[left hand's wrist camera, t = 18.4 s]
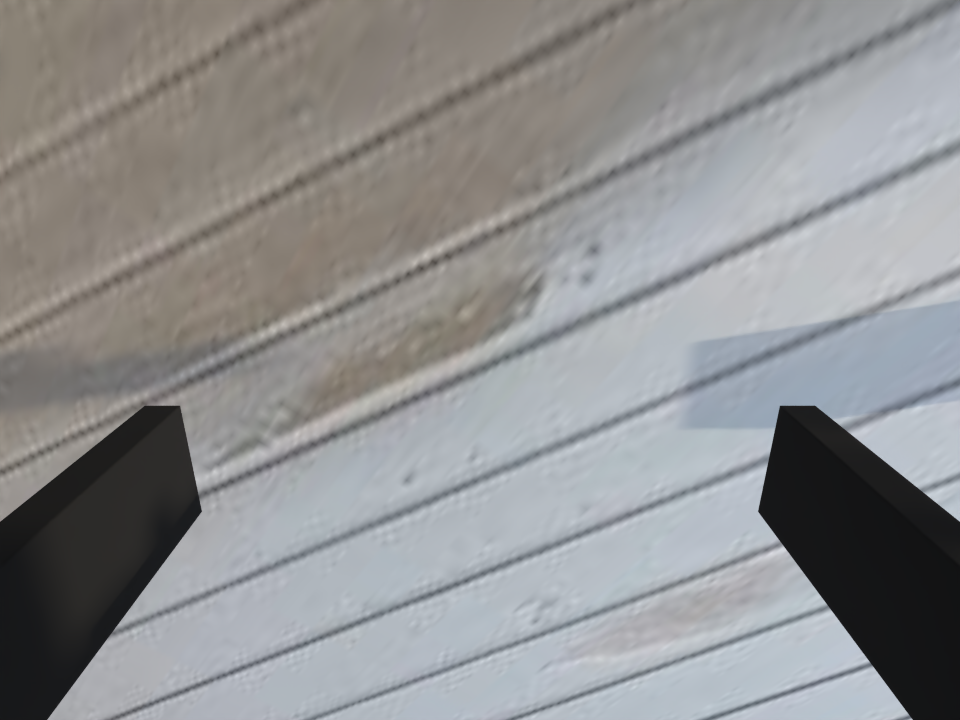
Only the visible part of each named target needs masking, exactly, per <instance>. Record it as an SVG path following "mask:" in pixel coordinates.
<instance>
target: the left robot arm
mask: <svg viewBox="0 0 960 720" xmlns="http://www.w3.org/2000/svg"><path fill="white" fill-rule="evenodd" d="M201 512H202V510H201V505H200V500H199V496H198V491H197V486H196V481H195V476H194V471H193V467H192V462H191V457H190V452H189V447H188V442H187V438H186V433H185V428H184V423H183V418H182V413H181V409H180V406H144V407H143V408H142V409H140V410H139V411H138V412H137V413H135V414H134V415H133V416H132V417H130V418H129V419H128V420H127V421H125V422H124V423H123V424H122V425H120V426H119V427H118V428H117V429H115V430H114V431H113V432H112V433H110V434H109V435H108V436H107V437H105V438H104V439H103V440H102V441H100V442H99V443H98V444H97V445H95V446H94V447H93V448H92V449H90V450H89V451H88V452H87V453H85V454H84V455H83V456H82V457H80V458H79V459H78V460H77V461H76V462H74V463H73V464H72V465H71V466H69V467H68V468H67V469H66V470H64V471H63V472H62V473H61V474H59V475H58V476H57V477H56V478H54V479H53V480H52V481H51V482H49V483H48V484H47V485H46V486H44V487H43V488H42V489H41V490H39V491H38V492H37V493H36V494H34V495H33V496H32V497H31V498H29V499H28V500H27V501H26V502H24V503H23V504H22V505H21V506H19V507H18V508H17V509H16V510H14V511H13V512H12V513H11V514H9V515H8V516H7V517H6V518H4V519H3V520H2V521H1V522H0V720H47V719H48V718H49V717H50V715H51V714H52V712H53V711H54V710H55V708H56V707H57V706H58V704H59V703H60V702H61V700H62V699H63V698H64V696H65V695H66V694H67V692H68V691H69V690H70V688H71V687H72V686H73V684H74V683H75V682H76V680H77V679H78V677H79V676H80V675H81V673H82V672H83V671H84V669H85V668H86V667H87V665H88V664H89V663H90V661H91V660H92V659H93V657H94V656H95V655H96V653H97V652H98V651H99V649H100V648H101V647H102V645H103V644H104V642H105V641H106V640H107V638H108V637H109V636H110V634H111V633H112V632H113V630H114V629H115V628H116V626H117V625H118V624H119V622H120V621H121V620H122V618H123V617H124V616H125V614H126V613H127V612H128V610H129V609H130V607H131V606H132V605H133V603H134V602H135V601H136V599H137V598H138V597H139V595H140V594H141V593H142V591H143V590H144V589H145V587H146V586H147V585H148V583H149V582H150V581H151V579H152V578H153V577H154V575H155V574H156V573H157V571H158V570H159V568H160V567H161V566H162V564H163V563H164V562H165V560H166V559H167V558H168V556H169V555H170V554H171V552H172V551H173V550H174V548H175V547H176V546H177V544H178V543H179V542H180V540H181V539H182V538H183V536H184V535H185V533H186V532H187V531H188V529H189V528H190V527H191V525H192V524H193V523H194V521H195V520H196V519H197V517H198V516H199V515H200V513H201ZM758 512H759V513H760V515H761V516H762V517H763V519H764V520H765V521H766V523H767V524H768V525H769V527H770V528H771V529H772V531H773V532H774V533H775V535H776V536H777V538H778V539H779V540H780V542H781V543H782V544H783V546H784V547H785V548H786V550H787V551H788V552H789V554H790V555H791V556H792V558H793V559H794V560H795V562H796V563H797V564H798V566H799V567H800V568H801V570H802V571H803V573H804V574H805V575H806V577H807V578H808V579H809V581H810V582H811V583H812V585H813V586H814V587H815V589H816V590H817V591H818V593H819V594H820V595H821V597H822V598H823V599H824V601H825V602H826V603H827V605H828V606H829V608H830V609H831V610H832V612H833V613H834V614H835V616H836V617H837V618H838V620H839V621H840V622H841V624H842V625H843V626H844V628H845V629H846V630H847V632H848V633H849V634H850V636H851V637H852V638H853V640H854V641H855V642H856V644H857V645H858V647H859V648H860V649H861V651H862V652H863V653H864V655H865V656H866V657H867V659H868V660H869V661H870V663H871V664H872V665H873V667H874V668H875V669H876V671H877V672H878V673H879V675H880V676H881V677H882V679H883V680H884V682H885V683H886V684H887V686H888V687H889V688H890V690H891V691H892V692H893V694H894V695H895V696H896V698H897V699H898V700H899V702H900V703H901V704H902V706H903V707H904V708H905V710H906V711H907V712H908V714H909V715H910V717H911V718H912V719H913V720H960V522H959V521H958V520H957V519H956V518H954V517H953V516H952V515H951V514H949V513H948V512H947V511H946V510H944V509H943V508H942V507H941V506H939V505H938V504H937V503H936V502H934V501H933V500H932V499H931V498H929V497H928V496H927V495H926V494H924V493H923V492H922V491H921V490H919V489H918V488H917V487H916V486H914V485H913V484H912V483H911V482H909V481H908V480H907V479H906V478H904V477H903V476H902V475H901V474H899V473H898V472H897V471H896V470H894V469H893V468H892V467H891V466H889V465H888V464H887V463H886V462H884V461H883V460H882V459H881V458H880V457H878V456H877V455H876V454H875V453H873V452H872V451H871V450H870V449H868V448H867V447H866V446H865V445H863V444H862V443H861V442H860V441H858V440H857V439H856V438H855V437H853V436H852V435H851V434H850V433H848V432H847V431H846V430H845V429H843V428H842V427H841V426H840V425H838V424H837V423H836V422H835V421H833V420H832V419H831V418H830V417H828V416H827V415H826V414H825V413H823V412H822V411H821V410H820V409H818V408H817V407H816V406H780V409H779V413H778V418H777V423H776V428H775V433H774V438H773V442H772V447H771V452H770V457H769V462H768V467H767V471H766V476H765V481H764V486H763V491H762V496H761V500H760V505H759V510H758Z"/></svg>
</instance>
